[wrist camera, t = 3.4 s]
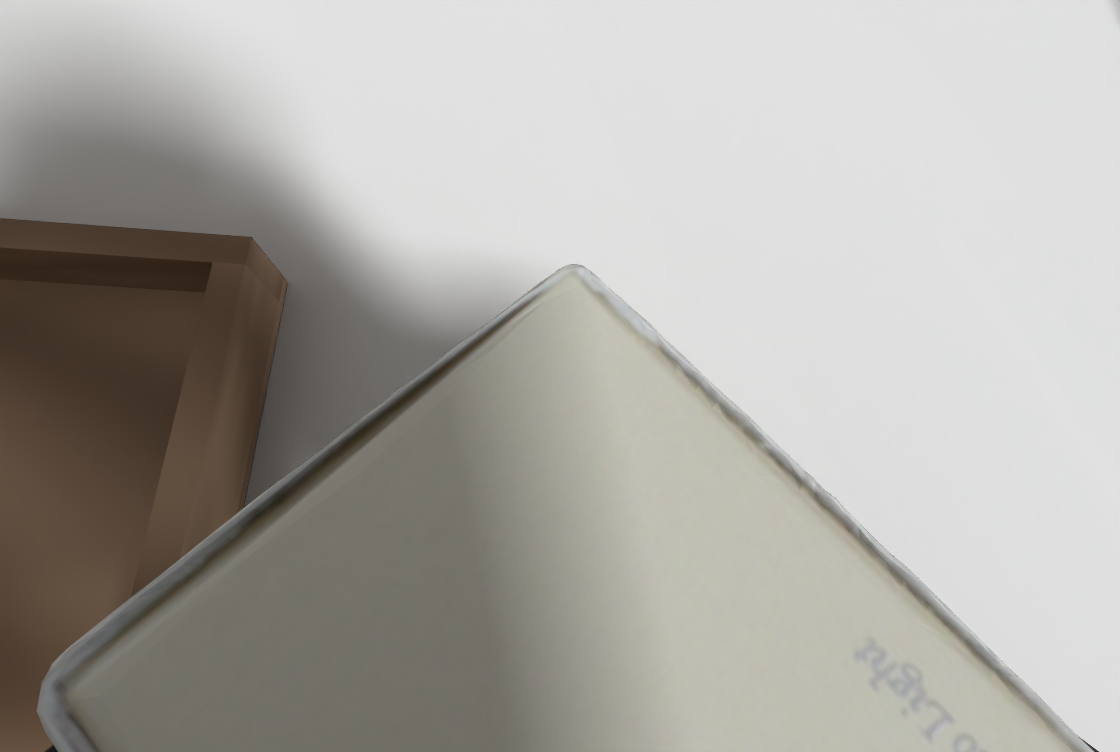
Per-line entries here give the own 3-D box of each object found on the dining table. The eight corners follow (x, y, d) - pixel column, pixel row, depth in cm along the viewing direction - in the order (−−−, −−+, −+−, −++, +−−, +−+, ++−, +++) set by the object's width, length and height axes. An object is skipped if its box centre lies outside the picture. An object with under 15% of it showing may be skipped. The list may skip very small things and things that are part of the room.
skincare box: (679, 635, 15) (1359, 972, 3) (560, 773, 13) (947, 2218, 2) (523, 462, 16) (593, 223, 4) (398, 575, 14) (-23, 700, 3)
